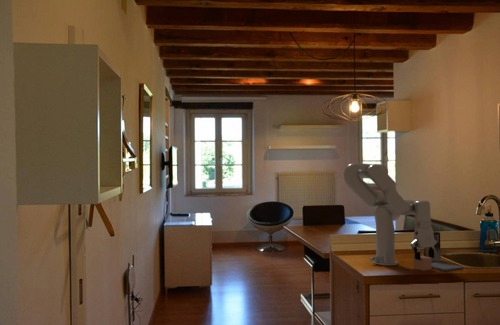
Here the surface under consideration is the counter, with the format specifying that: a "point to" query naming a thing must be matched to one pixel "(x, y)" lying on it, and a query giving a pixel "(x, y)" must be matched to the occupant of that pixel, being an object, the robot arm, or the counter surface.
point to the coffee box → (437, 249)
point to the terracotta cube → (423, 263)
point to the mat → (445, 266)
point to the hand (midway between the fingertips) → (424, 258)
